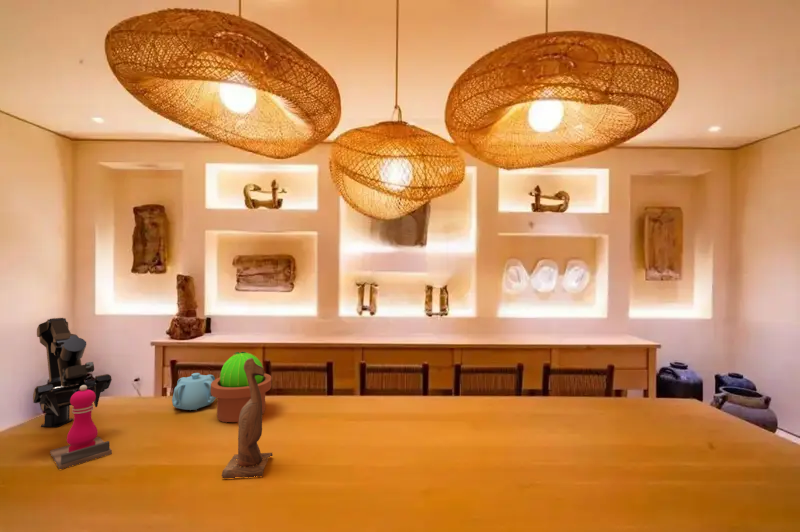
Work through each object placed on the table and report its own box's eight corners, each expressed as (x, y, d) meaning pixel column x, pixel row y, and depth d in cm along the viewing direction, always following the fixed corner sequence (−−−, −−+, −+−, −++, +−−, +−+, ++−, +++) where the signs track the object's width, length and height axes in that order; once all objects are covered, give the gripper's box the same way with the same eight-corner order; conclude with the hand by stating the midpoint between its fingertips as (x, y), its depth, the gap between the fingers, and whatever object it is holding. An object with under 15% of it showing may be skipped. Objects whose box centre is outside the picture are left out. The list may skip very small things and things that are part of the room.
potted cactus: (267, 423, 138) (268, 356, 138) (203, 428, 133) (204, 359, 133) (273, 402, 159) (274, 344, 159) (218, 406, 154) (219, 346, 154)
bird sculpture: (265, 479, 102) (271, 363, 103) (220, 481, 100) (227, 363, 101) (272, 458, 113) (278, 354, 114) (232, 460, 111) (238, 354, 112)
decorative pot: (213, 411, 149) (214, 377, 149) (167, 415, 143) (168, 380, 144) (219, 397, 164) (219, 367, 164) (177, 401, 159) (178, 369, 159)
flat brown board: (49, 454, 113) (50, 442, 113) (99, 440, 123) (99, 429, 123) (59, 470, 105) (59, 457, 105) (111, 453, 114) (111, 441, 114)
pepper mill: (70, 458, 108) (71, 390, 108) (63, 451, 112) (64, 385, 112) (100, 449, 114) (102, 384, 114) (93, 442, 118) (94, 380, 118)
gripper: (35, 360, 113) (41, 405, 106) (110, 350, 127) (120, 389, 120) (30, 380, 117) (35, 425, 111) (103, 368, 132) (112, 407, 125)
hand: (78, 410), depth 117 cm, fingers open, 9 cm apart
